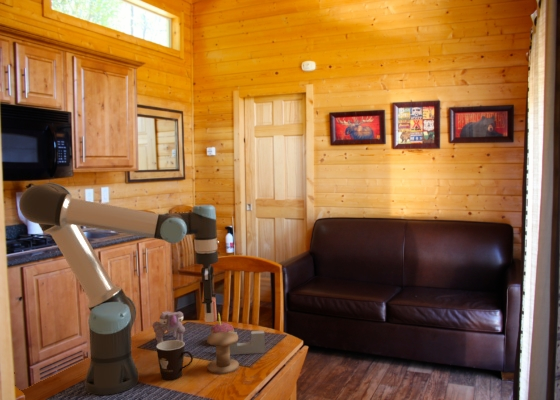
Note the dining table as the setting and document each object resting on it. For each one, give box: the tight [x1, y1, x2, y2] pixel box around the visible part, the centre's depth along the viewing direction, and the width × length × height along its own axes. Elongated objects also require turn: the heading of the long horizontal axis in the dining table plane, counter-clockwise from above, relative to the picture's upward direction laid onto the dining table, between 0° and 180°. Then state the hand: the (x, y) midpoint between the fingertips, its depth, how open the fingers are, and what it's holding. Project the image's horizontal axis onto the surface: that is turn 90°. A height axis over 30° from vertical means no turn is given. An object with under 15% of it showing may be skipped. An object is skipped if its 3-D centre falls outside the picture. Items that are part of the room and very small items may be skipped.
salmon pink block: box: [203, 297, 218, 324], centre depth 165 cm, size 4×5×7 cm
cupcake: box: [210, 311, 235, 335], centre depth 180 cm, size 9×8×12 cm
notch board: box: [230, 330, 266, 356], centre depth 170 cm, size 14×2×7 cm, turn 95°
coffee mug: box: [156, 339, 194, 382], centre depth 150 cm, size 12×9×10 cm
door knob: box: [206, 332, 240, 375], centre depth 158 cm, size 10×10×10 cm
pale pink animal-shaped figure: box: [151, 310, 186, 344], centre depth 178 cm, size 20×11×14 cm, turn 24°
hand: (210, 318), depth 165 cm, fingers closed on salmon pink block, 5 cm apart
